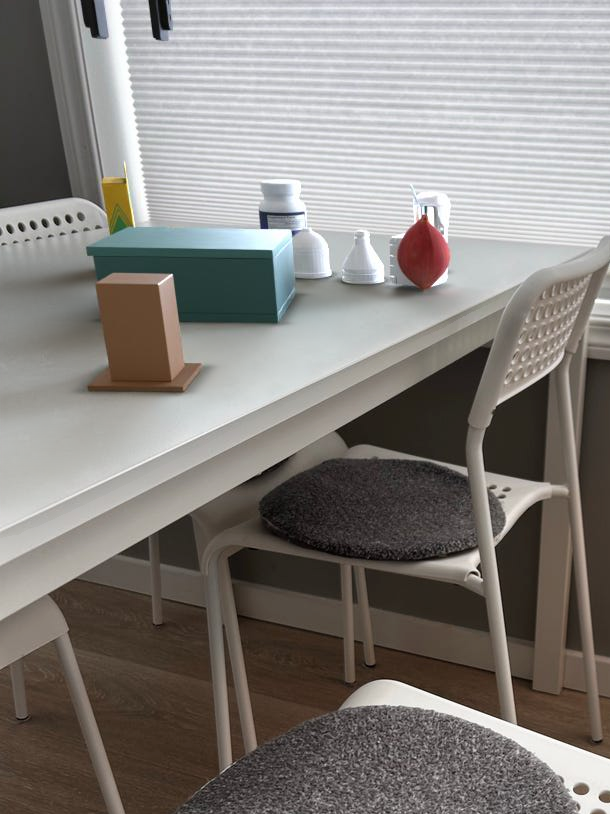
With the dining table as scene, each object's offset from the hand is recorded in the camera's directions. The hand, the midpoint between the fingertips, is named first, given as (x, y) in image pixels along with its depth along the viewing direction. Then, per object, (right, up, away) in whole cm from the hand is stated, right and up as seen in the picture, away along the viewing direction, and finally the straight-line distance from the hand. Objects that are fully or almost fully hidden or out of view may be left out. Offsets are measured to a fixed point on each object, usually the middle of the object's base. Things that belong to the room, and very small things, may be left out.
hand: (130, 36), depth 86 cm
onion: (+25, -15, +22) cm, 36 cm away
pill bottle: (+7, -8, +33) cm, 35 cm away
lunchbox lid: (+3, -15, +9) cm, 18 cm away
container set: (+18, -12, +28) cm, 35 cm away
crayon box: (-12, -9, +31) cm, 34 cm away
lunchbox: (+3, -20, +12) cm, 24 cm away
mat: (+6, -34, -12) cm, 37 cm away
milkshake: (+25, -8, +34) cm, 43 cm away
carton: (+6, -34, -12) cm, 37 cm away
